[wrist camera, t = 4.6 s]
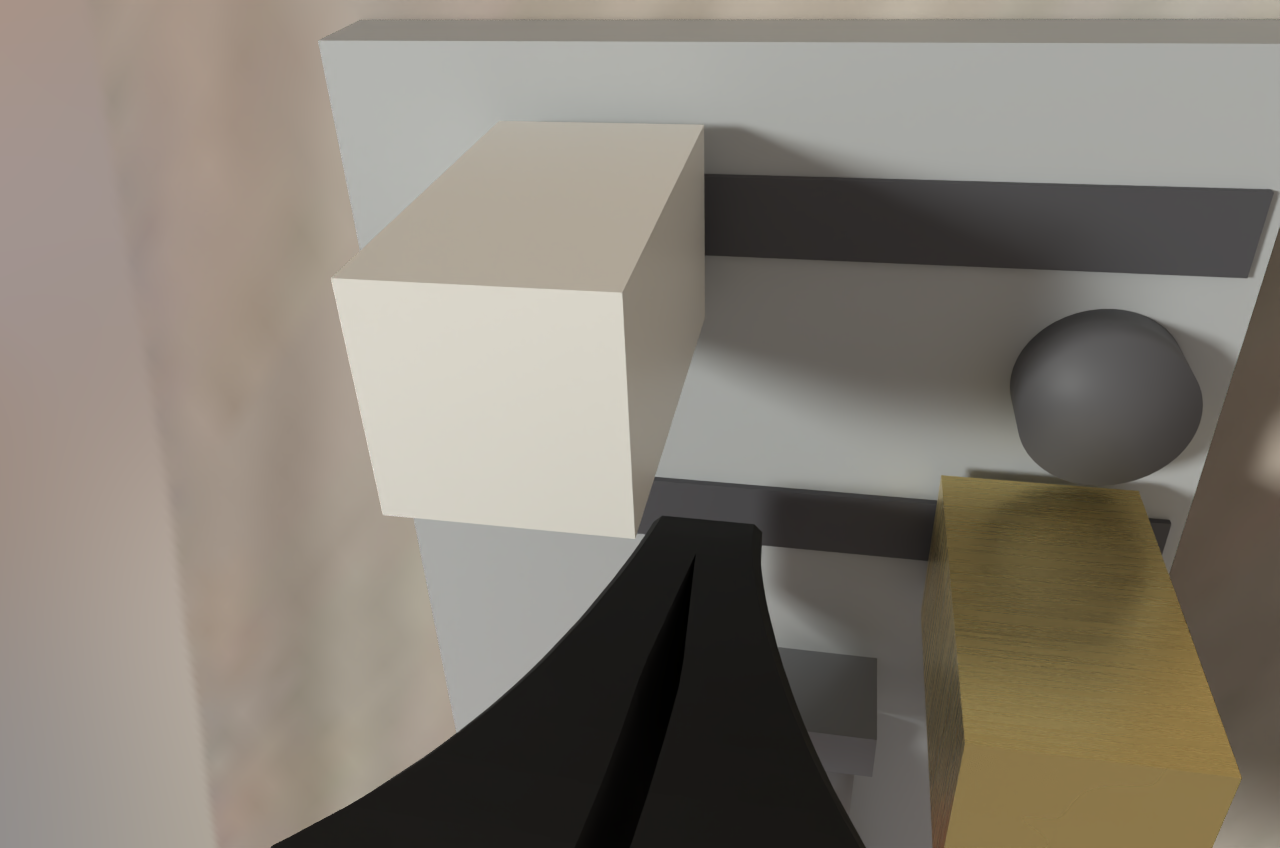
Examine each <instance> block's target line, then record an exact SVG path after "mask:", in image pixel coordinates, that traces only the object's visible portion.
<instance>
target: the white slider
mask: <svg viewBox="0 0 1280 848" xmlns="http://www.w3.org/2000/svg"><path fill="white" fill-rule="evenodd" d="M331 281H332V286H333V291H334V295H335V300H336V304H337V309H338V313H339V318H340V322H341V327H342V331H343V336H344V341H345V345H346V350H347V354H348V359H349V363H350V368H351V372H352V377H353V381H354V386H355V390H356V395H357V400H358V404H359V409H360V413H361V418H362V422H363V427H364V431H365V436H366V440H367V445H368V450H369V454H370V459H371V463H372V468H373V472H374V477H375V481H376V486H377V490H378V495H379V500H380V504H381V509H382V513H383V515H388V516H399V517H409V518H419V519H430V520H440V521H451V522H461V523H472V524H482V525H493V526H503V527H514V528H524V529H535V530H545V531H556V532H566V533H577V534H587V535H598V536H608V537H619V538H629V539H635V538H636V535H637V531H638V528H639V525H640V522H641V519H642V516H643V512H644V509H645V506H646V503H647V500H648V497H649V493H650V490H651V487H652V484H653V481H654V478H655V474H656V471H657V468H658V465H659V462H660V458H661V455H662V452H663V449H664V446H665V443H666V439H667V436H668V433H669V430H670V427H671V424H672V420H673V417H674V414H675V411H676V408H677V405H678V401H679V398H680V395H681V392H682V389H683V385H684V382H685V379H686V376H687V373H688V370H689V366H690V363H691V360H692V357H693V354H694V351H695V347H696V344H697V341H698V338H699V335H700V332H701V328H702V325H703V322H704V319H705V218H704V125H697V124H643V123H589V122H535V121H499V122H497V123H496V124H495V125H494V126H493V127H492V128H491V129H490V130H489V131H488V132H487V133H486V134H485V135H484V136H482V137H481V138H480V139H479V140H478V141H477V142H476V143H475V144H474V145H473V146H472V147H471V148H470V149H469V150H467V151H466V152H465V153H464V154H463V155H462V156H461V157H460V158H459V159H458V160H457V161H456V162H455V163H454V164H452V165H451V166H450V167H449V168H448V169H447V170H446V171H445V172H444V173H443V174H442V175H441V176H440V177H439V178H438V179H436V180H435V181H434V182H433V183H432V184H431V185H430V186H429V187H428V188H427V189H426V190H425V191H424V192H423V193H421V194H420V195H419V196H418V197H417V198H416V199H415V200H414V201H413V202H412V203H411V204H410V205H409V206H408V207H406V208H405V209H404V210H403V211H402V212H401V213H400V214H399V215H398V216H397V217H396V218H395V219H394V220H393V221H391V222H390V223H389V224H388V225H387V226H386V227H385V228H384V229H383V230H382V231H381V232H380V233H379V234H378V235H376V236H375V237H374V238H373V239H372V240H371V241H370V242H369V243H368V244H367V245H366V246H365V247H364V248H363V249H361V250H360V251H359V252H358V253H357V254H356V255H355V256H354V257H353V258H352V259H351V260H350V261H349V262H348V263H346V264H345V265H344V266H343V267H342V268H341V269H340V270H339V271H338V272H337V273H336V274H335V275H334V276H333V277H332V278H331Z"/></svg>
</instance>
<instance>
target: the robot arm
mask: <svg viewBox="0 0 1280 848" xmlns="http://www.w3.org/2000/svg"><path fill="white" fill-rule="evenodd" d="M761 555H762V531H761V530H760V529H759V528H758V527H757V526H756V525H755V524H748V523H737V522H726V521H715V520H705V519H694V518H683V517H672V516H661V517H659V518H658V519H657V520H655V521H654V522H653V524H652V525H651V527H650V528H649V530H648V531H647V533H646V534H645V536H644V537H643V539H642V540H641V542H640V543H639V545H638V546H637V547H636V549H635V550H634V552H633V553H632V554H631V556H630V557H629V558H628V560H627V561H626V562H625V564H624V565H623V566H622V568H621V569H620V570H619V572H618V573H617V574H616V575H615V577H614V578H613V579H612V581H611V582H610V583H609V584H608V585H607V587H606V588H605V589H604V590H603V591H602V593H601V594H600V595H599V596H598V597H597V599H596V600H595V601H594V602H593V603H592V605H591V606H590V607H589V608H588V609H587V611H586V612H585V613H584V614H583V615H582V616H581V618H580V619H579V620H578V621H577V622H576V623H575V624H574V625H573V626H572V627H571V629H570V630H569V631H568V632H567V633H566V634H565V635H564V636H563V637H562V638H561V639H560V640H559V641H558V642H557V643H556V644H555V645H554V646H553V648H552V649H551V650H550V651H549V652H548V653H547V654H546V655H545V656H544V657H543V658H542V659H541V660H540V661H539V662H538V663H537V664H536V665H535V666H534V667H533V668H532V669H531V670H530V671H529V672H528V673H527V674H526V675H525V676H523V677H522V678H521V679H520V680H519V681H518V682H517V683H516V684H515V685H514V686H513V687H511V688H510V689H509V690H508V691H507V692H506V693H505V694H504V695H502V696H501V697H500V698H499V699H498V700H497V701H496V702H494V703H493V704H492V705H491V706H490V707H489V708H487V709H486V710H485V711H484V712H482V713H481V714H480V715H479V716H477V717H476V718H475V719H474V720H472V721H471V722H470V723H469V724H467V725H466V726H465V727H464V728H462V729H461V730H460V731H459V732H457V733H456V734H455V735H453V736H452V737H451V738H450V739H448V740H447V741H446V742H444V743H443V744H441V745H440V746H439V747H437V748H436V749H435V750H433V751H432V752H431V753H429V754H428V755H426V756H425V757H423V758H422V759H420V760H419V761H417V762H416V763H414V764H413V765H411V766H410V767H408V768H407V769H405V770H404V771H402V772H401V773H399V774H398V775H396V776H395V777H393V778H391V779H390V780H388V781H387V782H385V783H384V784H382V785H381V786H379V787H378V788H376V789H375V790H373V791H372V792H370V793H368V794H367V795H365V796H364V797H362V798H360V799H359V800H357V801H355V802H354V803H352V804H350V805H348V806H347V807H345V808H343V809H341V810H339V811H337V812H335V813H334V814H332V815H330V816H328V817H326V818H324V819H322V820H321V821H319V822H317V823H315V824H313V825H311V826H309V827H307V828H306V829H304V830H302V831H300V832H298V833H296V834H294V835H292V836H291V837H289V838H287V839H285V840H283V841H281V842H279V843H277V844H275V845H273V846H271V848H866V847H865V845H864V843H863V841H862V839H861V838H860V836H859V834H858V832H857V830H856V829H855V827H854V825H853V823H852V821H851V819H850V818H849V816H848V814H847V812H846V810H845V809H844V807H843V805H842V803H841V801H840V799H839V798H838V796H837V794H836V792H835V790H834V788H833V786H832V784H831V782H830V780H829V778H828V776H827V774H826V772H825V769H824V767H823V765H822V763H821V761H820V759H819V757H818V755H817V752H816V750H815V748H814V746H813V743H812V741H811V739H810V736H809V734H808V732H807V729H806V727H805V725H804V722H803V719H802V717H801V714H800V712H799V709H798V707H797V704H796V701H795V699H794V696H793V693H792V690H791V687H790V684H789V681H788V678H787V675H786V672H785V670H784V667H783V663H782V660H781V657H780V653H779V650H778V647H777V643H776V639H775V635H774V631H773V627H772V623H771V619H770V615H769V611H768V606H767V601H766V596H765V590H764V584H763V577H762V568H761Z"/></svg>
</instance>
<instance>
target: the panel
mask: <svg viewBox="0 0 1280 848" xmlns="http://www.w3.org/2000/svg"><path fill="white" fill-rule="evenodd" d="M318 43H319V48H320V53H321V58H322V63H323V68H324V73H325V78H326V83H327V88H328V93H329V98H330V103H331V108H332V113H333V118H334V123H335V128H336V133H337V138H338V143H339V148H340V153H341V158H342V163H343V168H344V173H345V178H346V183H347V188H348V193H349V198H350V203H351V208H352V213H353V218H354V223H355V228H356V233H357V238H358V243H359V248H360V250H361V249H363V248H364V247H365V246H366V245H367V244H368V243H369V242H370V241H371V240H372V239H373V238H374V237H375V236H376V235H378V234H379V233H380V232H381V231H382V230H383V229H384V228H385V227H386V226H387V225H388V224H389V223H390V222H391V221H393V220H394V219H395V218H396V217H397V216H398V215H399V214H400V213H401V212H402V211H403V210H404V209H405V208H406V207H408V206H409V205H410V204H411V203H412V202H413V201H414V200H415V199H416V198H417V197H418V196H419V195H420V194H421V193H423V192H424V191H425V190H426V189H427V188H428V187H429V186H430V185H431V184H432V183H433V182H434V181H435V180H436V179H438V178H439V177H440V176H441V175H442V174H443V173H444V172H445V171H446V170H447V169H448V168H449V167H450V166H451V165H452V164H454V163H455V162H456V161H457V160H458V159H459V158H460V157H461V156H462V155H463V154H464V153H465V152H466V151H467V150H469V149H470V148H471V147H472V146H473V145H474V144H475V143H476V142H477V141H478V140H479V139H480V138H481V137H482V136H484V135H485V134H486V133H487V132H488V131H489V130H490V129H491V128H492V127H493V126H494V125H495V124H496V123H497V122H499V121H535V122H589V123H643V124H697V125H704V218H705V319H704V322H703V325H702V328H701V332H700V335H699V338H698V341H697V344H696V347H695V351H694V354H693V357H692V360H691V363H690V366H689V370H688V373H687V376H686V379H685V382H684V385H683V389H682V392H681V395H680V398H679V401H678V405H677V408H676V411H675V414H674V417H673V420H672V424H671V427H670V430H669V433H668V436H667V439H666V443H665V446H664V449H663V452H662V455H661V458H660V462H659V465H658V468H657V471H656V474H655V478H654V481H653V484H652V487H651V490H650V493H649V497H648V500H647V503H646V506H645V509H644V512H643V516H642V519H641V522H640V525H639V528H638V531H637V535H636V538H635V539H629V538H619V537H608V536H598V535H587V534H577V533H566V532H556V531H545V530H535V529H524V528H514V527H503V526H493V525H482V524H472V523H461V522H451V521H440V520H430V519H419V518H414V523H415V528H416V533H417V538H418V543H419V548H420V553H421V558H422V563H423V568H424V573H425V578H426V583H427V588H428V593H429V598H430V603H431V608H432V613H433V618H434V623H435V628H436V633H437V638H438V643H439V648H440V653H441V658H442V663H443V668H444V673H445V678H446V683H447V688H448V693H449V698H450V703H451V708H452V713H453V718H454V723H455V728H456V733H457V732H459V731H460V730H461V729H462V728H464V727H465V726H466V725H467V724H469V723H470V722H471V721H472V720H474V719H475V718H476V717H477V716H479V715H480V714H481V713H482V712H484V711H485V710H486V709H487V708H489V707H490V706H491V705H492V704H493V703H494V702H496V701H497V700H498V699H499V698H500V697H501V696H502V695H504V694H505V693H506V692H507V691H508V690H509V689H510V688H511V687H513V686H514V685H515V684H516V683H517V682H518V681H519V680H520V679H521V678H522V677H523V676H525V675H526V674H527V673H528V672H529V671H530V670H531V669H532V668H533V667H534V666H535V665H536V664H537V663H538V662H539V661H540V660H541V659H542V658H543V657H544V656H545V655H546V654H547V653H548V652H549V651H550V650H551V649H552V648H553V646H554V645H555V644H556V643H557V642H558V641H559V640H560V639H561V638H562V637H563V636H564V635H565V634H566V633H567V632H568V631H569V630H570V629H571V627H572V626H573V625H574V624H575V623H576V622H577V621H578V620H579V619H580V618H581V616H582V615H583V614H584V613H585V612H586V611H587V609H588V608H589V607H590V606H591V605H592V603H593V602H594V601H595V600H596V599H597V597H598V596H599V595H600V594H601V593H602V591H603V590H604V589H605V588H606V587H607V585H608V584H609V583H610V582H611V581H612V579H613V578H614V577H615V575H616V574H617V573H618V572H619V570H620V569H621V568H622V566H623V565H624V564H625V562H626V561H627V560H628V558H629V557H630V556H631V554H632V553H633V552H634V550H635V549H636V547H637V546H638V545H639V543H640V542H641V540H642V539H643V537H644V536H645V534H646V533H647V531H648V530H649V528H650V527H651V525H652V524H653V522H654V521H655V520H657V519H658V518H659V517H661V516H672V517H683V518H694V519H705V520H715V521H726V522H737V523H748V524H755V525H756V526H757V527H758V528H759V529H760V530H761V531H762V555H761V568H762V577H763V584H764V590H765V596H766V601H767V606H768V611H769V615H770V619H771V623H772V627H773V631H774V635H775V639H776V643H777V647H778V650H779V653H780V657H781V660H782V663H783V667H784V670H785V672H786V675H787V678H788V681H789V684H790V687H791V690H792V693H793V696H794V699H795V701H796V704H797V707H798V709H799V712H800V714H801V717H802V719H803V722H804V725H805V727H806V729H807V732H808V734H809V736H810V739H811V741H812V743H813V746H814V748H815V750H816V752H817V755H818V757H819V759H820V761H821V763H822V765H823V767H824V769H825V771H829V772H837V773H844V774H852V775H854V780H853V789H852V798H851V807H850V815H849V818H850V819H851V821H852V823H853V825H854V827H855V829H856V830H857V832H858V834H859V836H860V838H861V839H862V841H863V843H864V845H865V847H866V848H933V847H932V827H931V807H930V787H929V767H928V747H927V727H926V707H925V687H924V667H923V647H922V627H921V607H922V600H923V594H924V587H925V580H926V574H927V567H928V560H929V554H930V547H931V540H932V533H933V527H934V520H935V513H936V507H937V500H938V493H939V486H940V480H941V475H945V476H958V477H970V478H983V479H996V480H1008V481H1021V482H1034V483H1046V484H1059V485H1071V486H1084V487H1097V488H1109V489H1122V490H1135V491H1139V493H1140V496H1141V499H1142V502H1143V504H1144V507H1145V510H1146V513H1147V515H1148V518H1149V521H1150V524H1151V527H1152V529H1153V532H1154V535H1155V538H1156V541H1157V543H1158V546H1159V549H1160V552H1161V554H1162V557H1163V560H1164V563H1165V566H1166V568H1167V571H1168V574H1169V573H1170V570H1171V567H1172V564H1173V561H1174V558H1175V554H1176V551H1177V548H1178V545H1179V542H1180V539H1181V536H1182V532H1183V529H1184V526H1185V523H1186V520H1187V517H1188V514H1189V510H1190V507H1191V504H1192V501H1193V498H1194V495H1195V492H1196V488H1197V485H1198V482H1199V479H1200V476H1201V473H1202V470H1203V466H1204V463H1205V460H1206V457H1207V454H1208V451H1209V448H1210V444H1211V441H1212V438H1213V435H1214V432H1215V429H1216V426H1217V422H1218V419H1219V416H1220V413H1221V410H1222V407H1223V404H1224V400H1225V397H1226V394H1227V391H1228V388H1229V385H1230V382H1231V378H1232V375H1233V372H1234V369H1235V366H1236V363H1237V360H1238V356H1239V353H1240V350H1241V347H1242V344H1243V341H1244V338H1245V334H1246V331H1247V328H1248V325H1249V322H1250V319H1251V316H1252V312H1253V309H1254V306H1255V303H1256V300H1257V297H1258V294H1259V290H1260V287H1261V284H1262V281H1263V278H1264V275H1265V272H1266V268H1267V265H1268V262H1269V259H1270V256H1271V253H1272V250H1273V246H1274V243H1275V240H1276V237H1277V234H1278V231H1279V228H1280V19H923V20H359V21H357V22H355V23H353V24H351V25H349V26H347V27H345V28H343V29H341V30H339V31H337V32H335V33H332V34H330V35H328V36H326V37H324V38H322V39H320V40H318Z"/></svg>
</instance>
